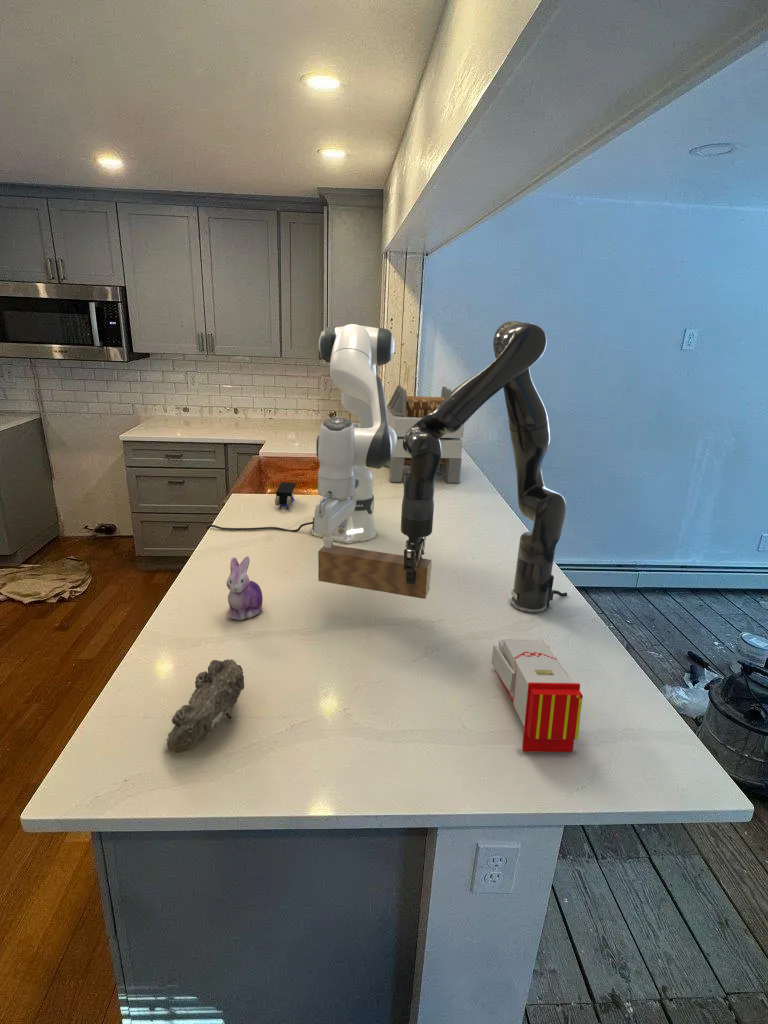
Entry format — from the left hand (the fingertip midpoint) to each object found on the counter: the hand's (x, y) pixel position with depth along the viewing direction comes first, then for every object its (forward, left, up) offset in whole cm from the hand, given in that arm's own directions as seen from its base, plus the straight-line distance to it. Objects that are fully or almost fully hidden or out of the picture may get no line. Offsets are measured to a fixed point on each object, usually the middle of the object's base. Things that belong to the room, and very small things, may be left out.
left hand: (335, 539), depth 141 cm
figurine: (-21, -9, -20) cm, 30 cm away
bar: (+10, 0, -11) cm, 15 cm away
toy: (+50, -22, -20) cm, 58 cm away
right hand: (+20, 0, -7) cm, 22 cm away
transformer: (-8, +138, -20) cm, 139 cm away
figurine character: (-47, +70, -20) cm, 86 cm away
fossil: (-7, -46, -20) cm, 51 cm away
